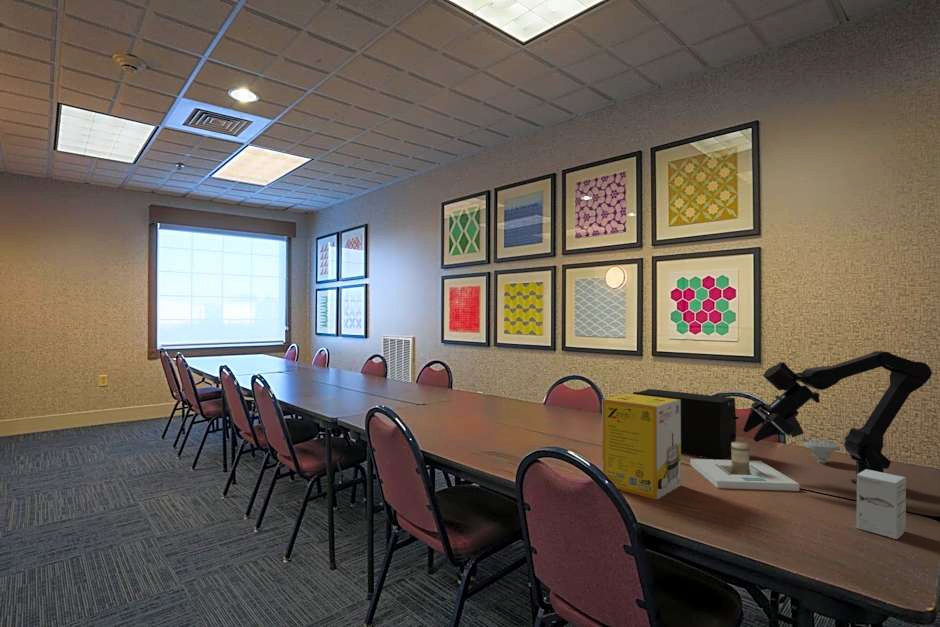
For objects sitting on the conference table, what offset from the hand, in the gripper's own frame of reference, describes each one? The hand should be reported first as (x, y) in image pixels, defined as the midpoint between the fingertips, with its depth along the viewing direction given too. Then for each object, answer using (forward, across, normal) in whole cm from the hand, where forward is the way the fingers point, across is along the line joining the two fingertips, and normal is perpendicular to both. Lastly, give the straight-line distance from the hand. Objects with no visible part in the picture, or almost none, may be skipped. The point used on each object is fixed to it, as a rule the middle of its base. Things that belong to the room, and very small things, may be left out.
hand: (749, 435), depth 146 cm
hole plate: (+11, -1, -7) cm, 13 cm away
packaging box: (+32, -16, +15) cm, 38 cm away
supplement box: (-4, -35, -19) cm, 40 cm away
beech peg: (+11, 0, -7) cm, 13 cm away
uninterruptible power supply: (+20, +30, -2) cm, 36 cm away
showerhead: (-10, +22, -31) cm, 39 cm away
